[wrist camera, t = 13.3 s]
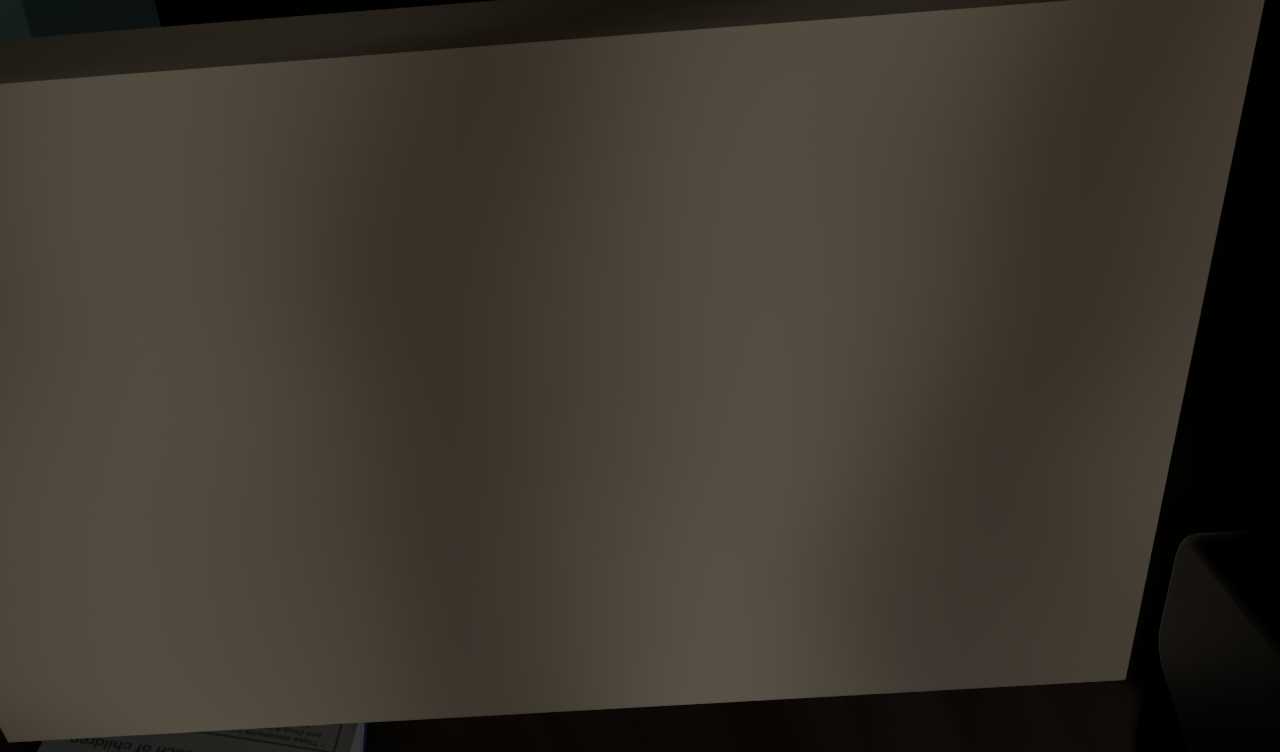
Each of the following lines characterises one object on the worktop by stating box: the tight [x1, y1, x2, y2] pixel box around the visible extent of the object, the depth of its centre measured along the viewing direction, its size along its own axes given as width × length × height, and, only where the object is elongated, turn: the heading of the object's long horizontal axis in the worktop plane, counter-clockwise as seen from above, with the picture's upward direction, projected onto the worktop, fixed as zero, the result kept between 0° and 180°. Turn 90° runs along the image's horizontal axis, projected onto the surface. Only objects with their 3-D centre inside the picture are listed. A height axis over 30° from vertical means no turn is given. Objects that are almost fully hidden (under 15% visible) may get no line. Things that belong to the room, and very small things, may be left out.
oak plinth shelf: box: [0, 0, 1265, 742], centre depth 16 cm, size 15×9×6 cm, turn 94°
